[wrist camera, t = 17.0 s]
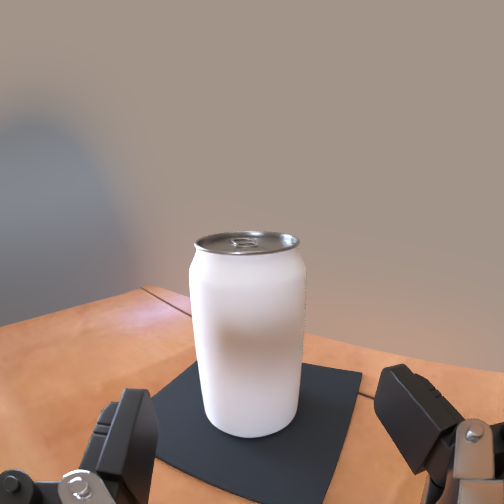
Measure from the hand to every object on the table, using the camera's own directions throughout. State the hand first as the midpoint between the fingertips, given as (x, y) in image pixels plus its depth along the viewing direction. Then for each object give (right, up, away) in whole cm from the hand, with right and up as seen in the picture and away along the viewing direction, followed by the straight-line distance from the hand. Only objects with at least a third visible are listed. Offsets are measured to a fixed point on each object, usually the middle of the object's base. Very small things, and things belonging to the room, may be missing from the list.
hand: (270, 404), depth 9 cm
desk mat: (-1, -6, +10) cm, 12 cm away
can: (-1, -6, +10) cm, 12 cm away
